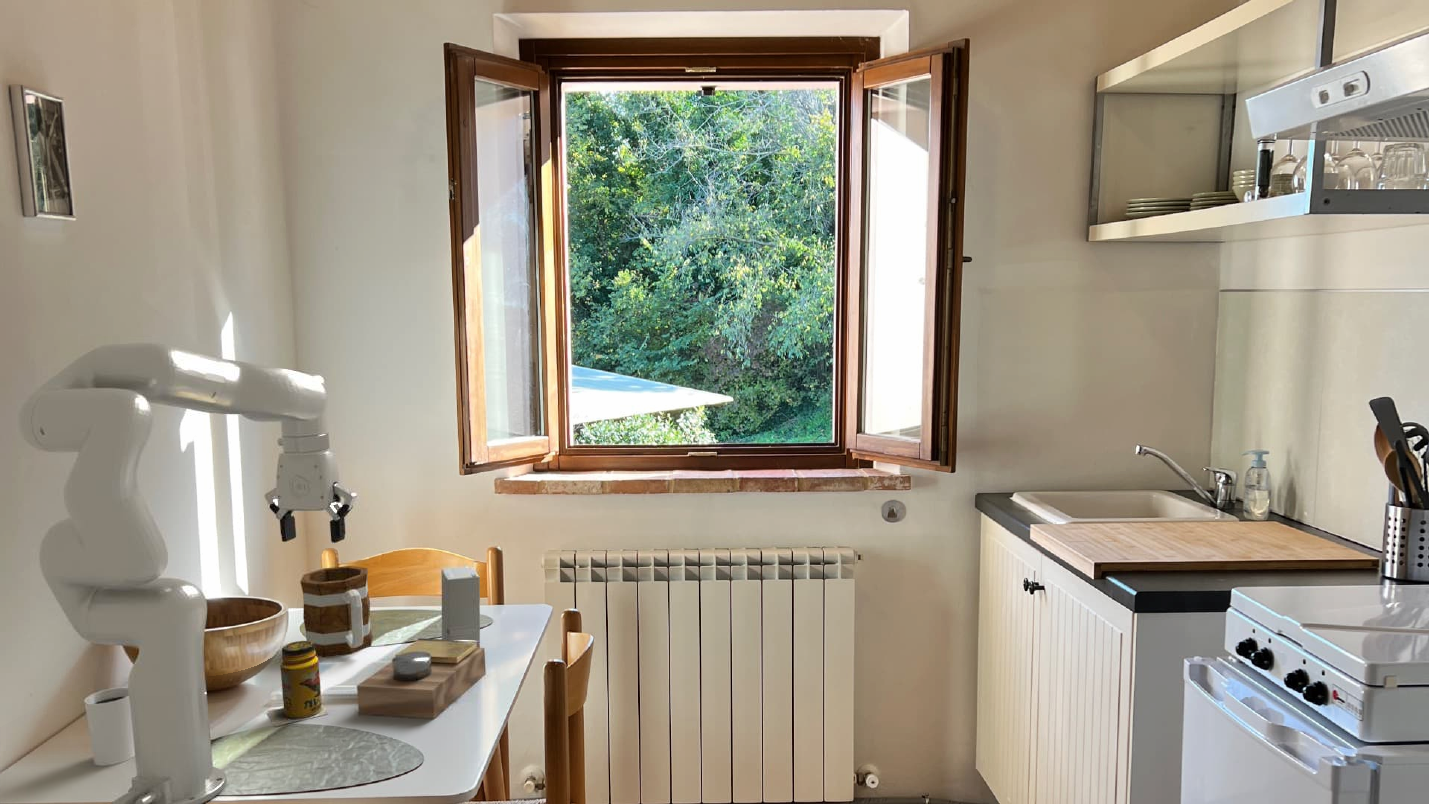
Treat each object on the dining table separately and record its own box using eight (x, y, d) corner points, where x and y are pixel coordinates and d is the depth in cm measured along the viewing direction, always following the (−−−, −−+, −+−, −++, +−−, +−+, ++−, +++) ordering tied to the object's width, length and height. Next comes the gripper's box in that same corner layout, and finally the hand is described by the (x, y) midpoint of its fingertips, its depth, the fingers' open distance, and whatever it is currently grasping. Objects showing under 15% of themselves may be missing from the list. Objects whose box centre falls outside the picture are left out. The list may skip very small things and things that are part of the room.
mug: (296, 645, 203) (290, 574, 201) (361, 630, 211) (356, 562, 209) (326, 671, 187) (320, 595, 186) (395, 653, 196) (390, 580, 194)
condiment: (328, 714, 167) (323, 646, 166) (274, 727, 162) (269, 657, 161) (319, 700, 173) (314, 635, 172) (267, 712, 169) (261, 645, 167)
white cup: (120, 745, 158) (114, 685, 157) (149, 750, 155) (144, 690, 154) (80, 763, 151) (73, 701, 150) (110, 769, 149) (104, 706, 148)
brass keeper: (457, 663, 174) (456, 656, 174) (395, 660, 176) (395, 653, 176) (479, 646, 183) (479, 639, 183) (420, 643, 185) (420, 637, 185)
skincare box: (441, 644, 200) (436, 568, 199) (476, 638, 203) (472, 563, 202) (448, 657, 193) (443, 578, 191) (484, 650, 196) (480, 573, 194)
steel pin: (422, 710, 167) (419, 665, 166) (388, 708, 168) (384, 664, 168) (439, 695, 173) (437, 652, 173) (406, 694, 175) (404, 650, 174)
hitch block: (434, 718, 164) (432, 690, 163) (358, 714, 167) (356, 686, 166) (485, 673, 183) (484, 648, 183) (417, 670, 186) (415, 644, 186)
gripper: (248, 448, 169) (256, 544, 171) (338, 447, 166) (345, 546, 167) (276, 441, 176) (283, 534, 178) (362, 441, 173) (369, 536, 175)
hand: (313, 540), depth 173 cm, fingers open, 9 cm apart
